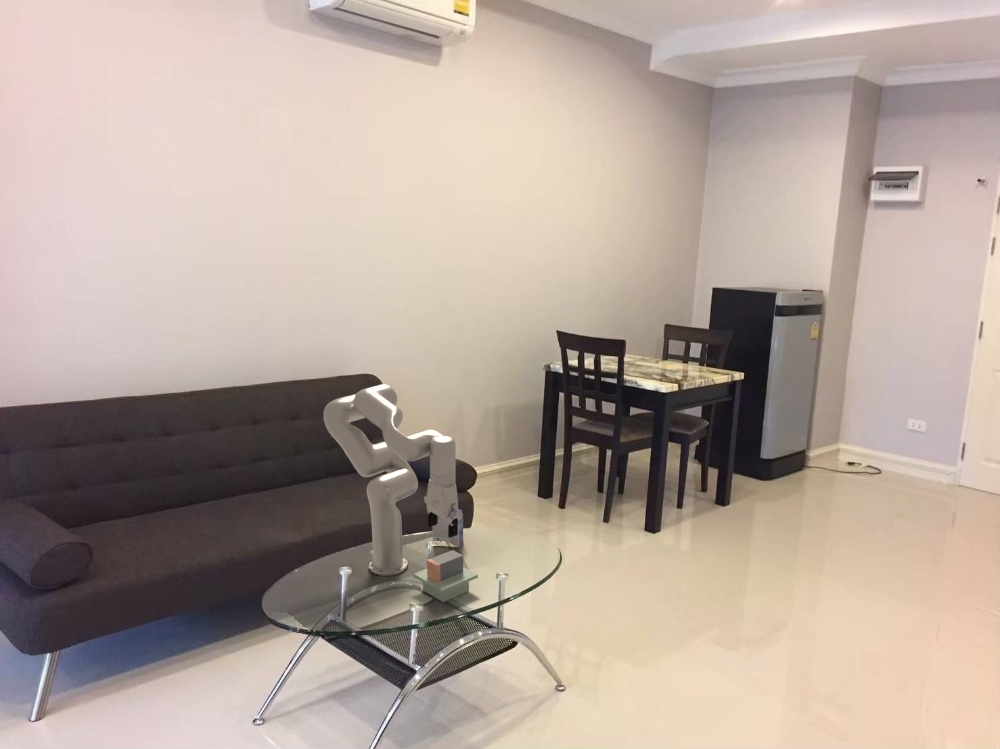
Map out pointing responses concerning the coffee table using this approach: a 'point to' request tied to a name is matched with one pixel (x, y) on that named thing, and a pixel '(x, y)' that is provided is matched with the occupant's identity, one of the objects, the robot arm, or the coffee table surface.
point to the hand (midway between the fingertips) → (442, 530)
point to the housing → (444, 566)
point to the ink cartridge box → (442, 531)
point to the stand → (446, 584)
